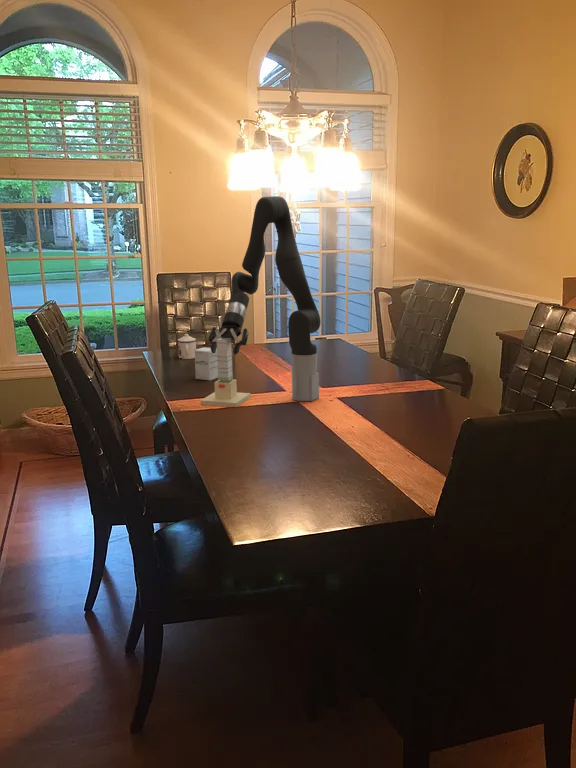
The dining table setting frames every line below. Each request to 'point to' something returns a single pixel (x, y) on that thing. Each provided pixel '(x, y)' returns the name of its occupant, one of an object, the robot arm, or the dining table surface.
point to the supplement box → (206, 364)
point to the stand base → (226, 394)
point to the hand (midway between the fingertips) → (223, 352)
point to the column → (224, 359)
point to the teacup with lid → (187, 347)
